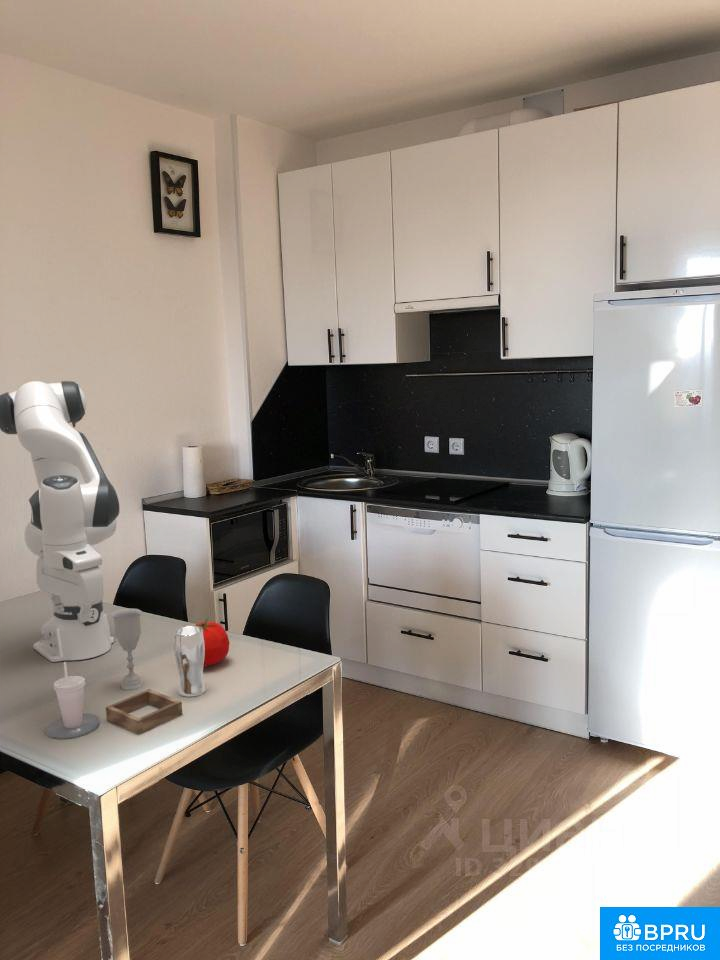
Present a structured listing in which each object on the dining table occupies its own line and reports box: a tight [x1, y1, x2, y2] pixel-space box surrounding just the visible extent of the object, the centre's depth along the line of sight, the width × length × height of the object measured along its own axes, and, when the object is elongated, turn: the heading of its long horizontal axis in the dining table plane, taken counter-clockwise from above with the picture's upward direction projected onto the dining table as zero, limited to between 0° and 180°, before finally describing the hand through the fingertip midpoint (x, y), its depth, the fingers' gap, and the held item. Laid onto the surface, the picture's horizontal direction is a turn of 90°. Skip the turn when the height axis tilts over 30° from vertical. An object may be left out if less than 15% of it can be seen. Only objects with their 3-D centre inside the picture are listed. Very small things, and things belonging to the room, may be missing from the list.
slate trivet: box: [44, 712, 101, 740], centre depth 177 cm, size 11×11×1 cm
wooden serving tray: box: [105, 689, 183, 735], centre depth 180 cm, size 12×12×3 cm
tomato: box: [194, 618, 230, 667], centre depth 208 cm, size 12×12×11 cm
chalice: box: [111, 608, 144, 690], centre depth 196 cm, size 7×7×18 cm
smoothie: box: [53, 661, 86, 728], centre depth 176 cm, size 6×6×14 cm
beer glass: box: [173, 625, 206, 698], centre depth 192 cm, size 7×7×15 cm
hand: (71, 616), depth 175 cm, fingers open, 8 cm apart
